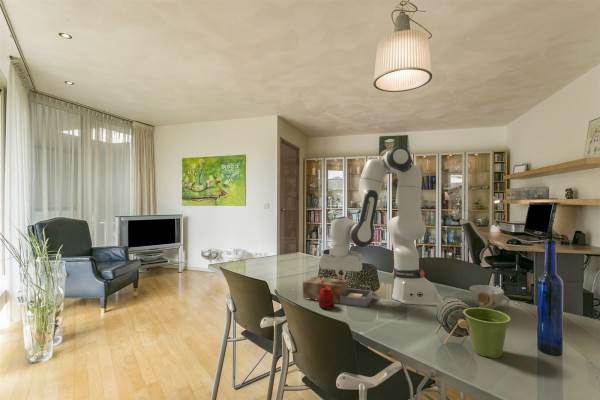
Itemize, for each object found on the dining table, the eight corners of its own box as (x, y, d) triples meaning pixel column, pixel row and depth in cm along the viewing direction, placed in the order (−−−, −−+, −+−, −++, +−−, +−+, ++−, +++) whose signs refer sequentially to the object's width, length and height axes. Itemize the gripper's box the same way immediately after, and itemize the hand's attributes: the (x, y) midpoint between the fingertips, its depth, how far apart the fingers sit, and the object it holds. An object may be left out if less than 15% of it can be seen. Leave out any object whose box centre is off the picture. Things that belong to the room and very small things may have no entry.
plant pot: (457, 351, 89) (455, 313, 89) (475, 340, 96) (474, 305, 96) (501, 367, 79) (499, 325, 80) (518, 354, 86) (517, 315, 86)
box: (373, 298, 142) (372, 290, 142) (366, 307, 129) (366, 299, 129) (348, 295, 147) (348, 288, 147) (340, 304, 134) (339, 296, 134)
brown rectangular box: (348, 296, 146) (347, 279, 146) (340, 303, 135) (340, 285, 135) (312, 292, 154) (312, 276, 155) (303, 298, 144) (302, 282, 144)
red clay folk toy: (333, 310, 126) (332, 275, 127) (317, 309, 128) (316, 274, 128) (335, 304, 134) (334, 271, 134) (319, 304, 135) (318, 271, 135)
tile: (350, 292, 142) (350, 297, 142) (346, 296, 137) (346, 300, 137) (362, 294, 140) (362, 298, 140) (359, 297, 134) (359, 302, 134)
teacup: (463, 305, 129) (462, 287, 129) (481, 301, 134) (480, 283, 134) (499, 316, 115) (498, 296, 115) (517, 311, 121) (517, 291, 121)
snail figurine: (491, 325, 107) (489, 291, 108) (473, 319, 113) (472, 287, 113) (499, 322, 110) (498, 289, 110) (482, 316, 116) (481, 285, 116)
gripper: (363, 250, 140) (364, 279, 140) (323, 248, 149) (323, 276, 149) (360, 252, 135) (360, 282, 134) (318, 250, 143) (319, 279, 143)
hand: (341, 279), depth 142 cm, fingers closed
